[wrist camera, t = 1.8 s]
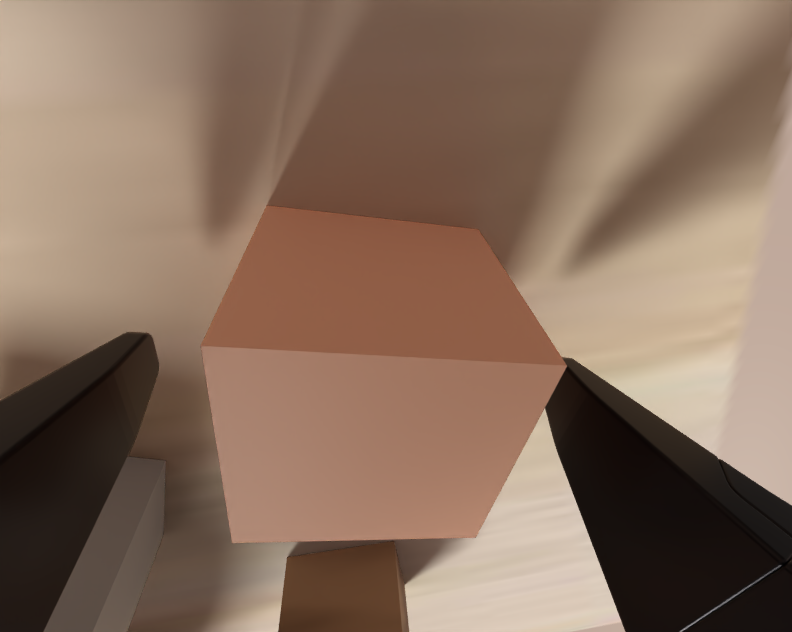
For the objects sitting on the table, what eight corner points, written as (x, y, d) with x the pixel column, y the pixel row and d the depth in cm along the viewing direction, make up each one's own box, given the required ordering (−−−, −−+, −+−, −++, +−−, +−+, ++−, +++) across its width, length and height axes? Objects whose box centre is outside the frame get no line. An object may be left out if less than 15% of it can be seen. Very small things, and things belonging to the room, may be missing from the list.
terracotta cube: (435, 375, 13) (475, 537, 9) (271, 367, 12) (231, 543, 8) (477, 227, 10) (566, 365, 6) (267, 204, 9) (199, 345, 5)
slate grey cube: (164, 531, 16) (103, 696, 12) (19, 522, 15) (-102, 702, 11) (167, 458, 14) (90, 636, 10) (-8, 439, 12) (-181, 636, 8)
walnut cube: (404, 583, 21) (417, 711, 17) (312, 597, 21) (303, 729, 17) (394, 539, 19) (406, 680, 14) (287, 555, 18) (270, 702, 14)
